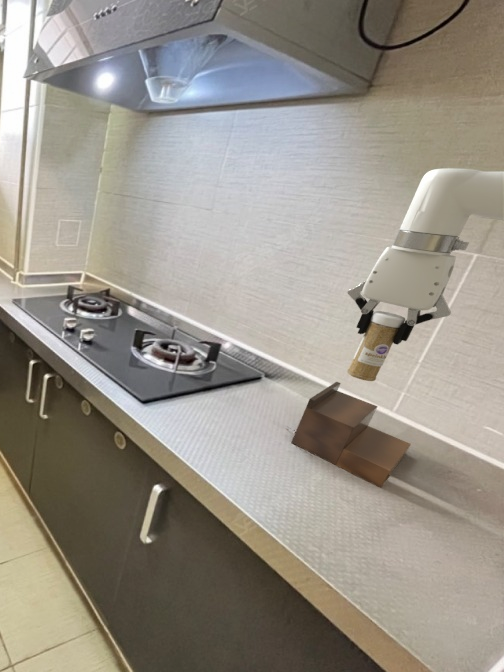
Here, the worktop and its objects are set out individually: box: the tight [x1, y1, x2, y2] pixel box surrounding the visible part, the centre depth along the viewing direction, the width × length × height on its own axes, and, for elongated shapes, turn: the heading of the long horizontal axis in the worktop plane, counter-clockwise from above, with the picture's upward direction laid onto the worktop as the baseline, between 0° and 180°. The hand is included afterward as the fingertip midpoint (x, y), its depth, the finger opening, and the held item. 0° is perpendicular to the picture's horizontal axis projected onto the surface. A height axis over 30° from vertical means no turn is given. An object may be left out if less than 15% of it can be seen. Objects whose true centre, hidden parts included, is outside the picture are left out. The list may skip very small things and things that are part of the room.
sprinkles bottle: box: [346, 310, 406, 382], centre depth 76 cm, size 5×5×13 cm
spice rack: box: [290, 381, 412, 489], centre depth 81 cm, size 15×16×11 cm
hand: (379, 336), depth 76 cm, fingers closed on sprinkles bottle, 4 cm apart
